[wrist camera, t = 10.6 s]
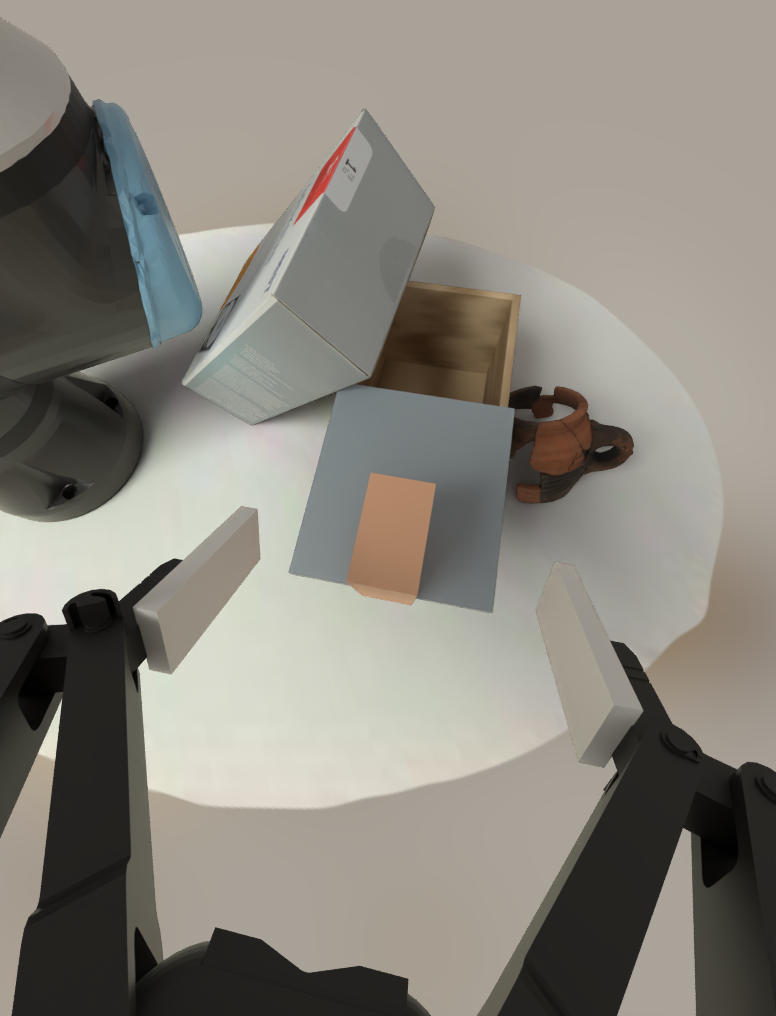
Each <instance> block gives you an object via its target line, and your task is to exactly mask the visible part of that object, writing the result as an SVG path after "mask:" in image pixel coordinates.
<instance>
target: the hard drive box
mask: <svg viewBox="0 0 776 1016" xmlns="http://www.w3.org/2000/svg"><path fill="white" fill-rule="evenodd" d="M434 208H435V207H434V205H433V204H432V202H431V201H430V199H429V198H428V196H427V195H426V193H425V192H424V191H423V189H422V188H421V186H420V185H419V183H418V182H417V180H416V179H415V177H414V176H413V175H412V173H411V172H410V170H409V169H408V168H407V166H406V165H405V163H404V162H403V160H402V159H401V157H400V156H399V155H398V153H397V152H396V150H395V149H394V147H393V146H392V144H391V143H390V142H389V140H388V139H387V137H386V136H385V135H384V133H383V132H382V131H381V129H380V127H379V126H378V124H377V123H376V122H375V120H374V119H373V117H372V116H371V115H370V113H369V112H368V111H367V110H366V109H365V108H364V109H363V110H362V112H361V113H360V115H359V116H358V117H357V119H356V120H355V121H354V123H353V124H352V125H351V127H350V128H349V129H348V131H347V132H346V133H345V134H344V136H343V137H342V138H341V140H340V141H339V142H338V144H337V145H336V147H335V148H334V149H333V150H332V151H331V153H330V154H329V155H328V157H327V158H326V159H325V161H324V162H323V163H322V165H321V166H320V167H319V169H318V170H317V171H316V172H315V174H314V175H313V176H312V177H311V179H310V180H309V181H308V183H307V184H306V185H305V186H304V188H303V189H302V190H301V192H300V193H299V194H298V196H297V197H296V198H295V199H294V200H293V202H292V203H291V204H290V206H289V207H288V208H287V209H286V211H285V212H284V213H283V214H282V216H281V217H280V218H279V220H278V221H277V222H276V223H275V224H274V226H273V227H272V228H271V229H270V231H269V232H268V233H267V235H266V236H265V237H264V239H263V240H262V241H261V242H260V244H259V245H258V246H257V248H256V249H255V250H254V252H253V253H252V254H251V256H250V257H249V258H248V260H247V261H246V263H245V265H244V266H243V268H242V270H241V272H240V274H239V276H238V278H237V280H236V281H235V283H234V285H233V287H232V289H231V291H230V293H229V294H228V296H227V298H226V300H225V302H224V304H223V305H222V307H221V309H220V311H219V313H218V315H217V317H216V319H215V320H214V322H213V324H212V326H211V328H210V330H209V332H208V333H207V335H206V337H205V339H204V341H203V343H202V344H201V346H200V348H199V350H198V352H197V354H196V356H195V358H194V359H193V361H192V363H191V365H190V367H189V369H188V371H187V373H186V375H185V377H184V378H183V380H182V384H183V385H184V386H186V387H187V388H189V389H190V390H192V391H194V392H195V393H197V394H199V395H200V396H202V397H204V398H206V399H207V400H209V401H211V402H212V403H214V404H216V405H217V406H219V407H221V408H222V409H224V410H226V411H227V412H229V413H231V414H232V415H234V416H236V417H237V418H239V419H241V420H243V421H244V422H246V423H248V424H250V425H254V424H257V423H259V422H262V421H264V420H267V419H269V418H272V417H274V416H277V415H279V414H282V413H284V412H287V411H289V410H291V409H294V408H297V407H299V406H302V405H304V404H306V403H309V402H311V401H314V400H316V399H319V398H321V397H324V396H326V395H329V394H331V393H334V392H336V391H339V390H341V389H343V388H346V387H348V386H351V385H353V384H356V383H358V382H361V381H363V380H366V379H368V378H370V377H372V374H373V372H374V370H375V367H376V365H377V362H378V360H379V357H380V354H381V352H382V349H383V347H384V344H385V341H386V338H387V336H388V333H389V331H390V328H391V325H392V323H393V320H394V317H395V314H396V312H397V309H398V306H399V304H400V301H401V299H402V296H403V294H404V291H405V288H406V286H407V283H408V280H409V278H410V275H411V273H412V270H413V267H414V265H415V262H416V260H417V257H418V254H419V252H420V249H421V247H422V244H423V241H424V239H425V236H426V233H427V230H428V228H429V225H430V222H431V219H432V216H433V213H434Z"/></svg>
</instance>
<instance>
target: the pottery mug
mask: <svg viewBox="0 0 776 1016" xmlns="http://www.w3.org/2000/svg"><path fill="white" fill-rule="evenodd" d="M541 390H542V387H539V386H531V387H525V388H522V389H518V390H516V391H513V392H511V393H510V394H509V402H508V408H514V409H532V412H533V414H534V416H535V418H545V417H549V416H551V415H552V414H553V408H552V405H553V403H558V404H563V405H567V406H569V407H572V408H573V409H575V410H576V411H575V412H574V413H572V414H571V415H569V416H567V417H565V418H562V419H560V420H555V421H549V422H539V423H535V422H529V421H523V420H520V419H517V418H515V417H514V421H513V430H512V439H511V449H510V459H513V458H514V456H515V454H516V451H517V450H519V449H520V448H521V447H523V446H524V445H525V444H527V443H530V442H531V441H533V440H534V445H533V450H532V454H531V457H530V460H529V462H530V465H531V467H532V468H533V469H534V470H536V471H539V472H540V478H541V484H540V485H527V484H521V483H519V484H518V485H517V489H516V490H517V499H518V500H519V501H523V502H528V503H546V502H552V501H555V500H557V499H560V498H562V497H564V496H565V495H566V494H567V493H568V492H569V491H570V490H571V488H572V487H573V486H574V484H575V483H576V482H577V481H578V480H579V479H580V478H581V477H582V476H583V474H584V475H585V474H587V473H590V472H594V471H603V470H608V469H612V468H615V467H617V466H619V465H621V464H623V463H624V462H625V461H626V460H627V459H628V458H629V456H631V455H632V454H633V451H632V449H633V447H634V443H633V439H632V437H631V435H630V434H629V433H628V432H627V431H625V430H624V429H621V428H618V427H615V426H608V425H603V424H600V423H598V422H596V421H595V420H590V419H589V415H588V413H587V412H586V411H587V409H588V403H587V401H586V399H585V398H584V397H583V396H582V395H581V394H579V393H578V392H575V391H574V390H571V389H568V388H564V387H556V388H555V389H554V395H542V396H540V393H541ZM603 446H614V447H613V448H611V449H610V450H608V451H605V452H601V453H599V452H596V451H595V450H596V449H598V448H600V447H603Z"/></svg>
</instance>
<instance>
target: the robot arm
mask: <svg viewBox="0 0 776 1016" xmlns="http://www.w3.org/2000/svg"><path fill="white" fill-rule="evenodd" d="M201 317H202V303H201V299H200V296H199V292H198V289H197V286H196V283H195V280H194V277H193V274H192V272H191V269H190V266H189V263H188V261H187V258H186V255H185V252H184V250H183V247H182V245H181V242H180V239H179V237H178V234H177V231H176V229H175V226H174V224H173V221H172V219H171V216H170V214H169V211H168V209H167V206H166V204H165V201H164V199H163V196H162V194H161V191H160V189H159V186H158V184H157V181H156V179H155V177H154V174H153V172H152V169H151V167H150V164H149V162H148V160H147V157H146V155H145V153H144V150H143V148H142V146H141V144H140V141H139V139H138V137H137V135H136V133H135V131H134V129H133V127H132V125H131V123H130V121H129V118H128V116H127V114H126V113H125V111H124V110H123V109H122V108H121V107H120V106H118V105H117V104H115V103H104V102H103V101H102V100H100V99H98V100H95V101H93V105H92V107H90V106H89V105H88V104H87V103H86V102H85V101H84V99H83V98H82V96H81V94H80V93H79V91H78V89H77V88H76V86H75V84H74V82H73V81H72V79H71V77H70V76H69V74H68V73H67V71H66V69H65V67H64V66H63V64H62V63H61V61H60V60H59V59H58V57H57V56H56V54H55V53H54V52H53V51H52V49H50V47H48V46H47V45H45V44H44V43H42V42H41V41H39V40H38V39H36V38H34V37H32V36H31V35H29V34H27V33H26V32H24V31H22V30H21V29H19V28H17V27H16V26H14V25H12V24H11V23H9V22H7V21H6V20H4V19H2V18H1V17H0V510H1V511H3V512H6V513H9V514H12V515H15V516H19V517H22V518H26V519H29V520H33V521H39V522H56V521H63V520H68V519H72V518H75V517H78V516H81V515H83V514H85V513H87V512H89V511H91V510H93V509H95V508H97V507H98V506H100V505H101V504H103V503H104V502H106V501H107V500H108V499H109V498H111V497H112V496H113V495H114V494H115V493H116V492H117V491H118V490H119V489H120V488H121V487H122V486H123V485H124V483H125V482H126V481H127V479H128V478H129V476H130V475H131V473H132V472H133V470H134V468H135V466H136V464H137V461H138V459H139V456H140V452H141V448H142V440H143V432H142V425H141V421H140V418H139V416H138V414H137V412H136V410H135V409H134V407H133V406H132V405H131V403H130V402H129V401H128V400H126V399H125V398H124V397H123V396H122V395H120V394H119V393H118V392H117V391H116V390H114V389H113V388H112V387H111V386H109V385H108V384H106V383H104V382H103V381H101V380H99V379H96V378H94V377H91V376H89V375H86V374H84V373H81V372H79V371H81V370H84V369H87V368H90V367H93V366H96V365H99V364H102V363H105V362H108V361H111V360H114V359H117V358H120V357H123V356H126V355H129V354H132V353H135V352H138V351H141V350H144V349H147V348H150V347H153V348H157V347H158V346H160V344H161V342H163V341H166V340H168V339H171V338H173V337H176V336H178V335H181V334H183V333H186V332H188V331H191V330H192V329H193V328H195V327H196V326H197V325H198V323H199V321H200V319H201ZM259 560H260V544H259V526H258V509H254V508H248V507H243V506H241V507H240V508H239V509H238V510H237V511H236V512H235V513H233V514H232V515H231V516H230V517H229V518H228V519H227V520H226V521H225V522H224V523H223V524H222V525H221V526H219V527H218V528H217V529H216V530H215V531H214V532H213V533H212V534H211V535H210V536H209V537H208V538H207V539H206V540H204V541H203V542H202V543H201V544H200V545H199V546H198V547H197V548H196V549H195V550H194V551H193V552H192V553H190V554H189V555H188V556H187V557H186V558H185V559H184V560H179V559H172V560H170V561H168V562H166V563H164V564H162V565H160V566H159V567H158V568H157V569H155V570H154V571H153V572H152V573H151V574H150V576H147V577H146V578H145V579H144V580H143V581H142V583H141V584H138V585H137V586H136V587H135V588H134V589H133V590H131V591H130V592H129V593H128V594H127V595H126V596H125V597H123V598H122V599H121V600H120V601H118V598H117V596H116V593H115V592H113V591H111V590H106V589H97V590H90V591H87V592H84V593H81V594H79V595H77V596H75V597H74V598H72V599H71V600H69V601H68V602H67V603H66V604H65V605H64V607H63V609H62V612H63V615H64V617H65V620H66V622H67V624H64V625H47V624H46V621H45V619H44V618H43V616H41V615H39V614H36V613H26V614H21V615H17V616H13V617H11V618H8V619H6V620H3V621H2V622H0V837H1V835H2V833H3V831H4V828H5V826H6V824H7V822H8V819H9V817H10V815H11V813H12V810H13V808H14V806H15V804H16V801H17V799H18V797H19V795H20V792H21V790H22V788H23V785H24V783H25V781H26V779H27V776H28V774H29V772H30V770H31V767H32V765H33V763H34V761H35V758H36V756H37V754H38V752H39V749H40V747H41V745H42V743H43V740H44V738H45V736H46V733H47V731H48V729H49V727H50V724H51V722H52V720H53V718H54V715H55V713H56V711H57V709H58V706H59V704H60V702H61V700H62V706H61V715H60V724H59V733H58V741H57V750H56V759H55V769H54V777H53V785H52V795H51V804H50V812H49V821H48V830H47V838H46V847H45V856H44V865H43V874H42V882H41V892H40V898H39V903H38V906H37V909H36V910H35V911H34V912H33V914H31V915H30V917H29V918H28V920H27V923H26V926H25V928H24V933H23V938H22V943H21V949H20V957H19V965H18V972H17V980H16V987H15V995H14V1002H13V1010H12V1016H431V1015H430V1014H429V1012H428V1011H427V1010H426V1009H425V1008H424V1007H423V1006H422V1005H421V1004H420V1003H419V1002H418V1001H417V1000H416V999H414V998H413V997H412V996H410V995H409V994H408V979H407V978H403V977H400V976H395V975H392V974H388V973H385V972H381V971H377V970H373V969H370V968H366V967H362V966H356V967H348V968H341V969H334V970H326V971H319V972H312V973H307V972H304V971H302V970H300V969H299V968H298V967H296V966H295V965H294V964H292V963H291V962H290V961H288V960H287V959H286V958H285V957H283V956H282V955H281V954H279V953H278V952H277V951H276V950H274V949H273V948H272V947H270V946H269V945H268V944H266V943H265V942H264V941H263V940H261V939H258V938H254V937H250V936H246V935H242V934H238V933H235V932H231V931H228V930H224V929H220V928H215V930H214V932H213V935H212V938H211V940H210V941H207V942H201V943H198V944H195V945H192V946H189V947H187V948H185V949H183V950H181V951H178V952H177V953H175V954H173V955H172V956H170V957H169V958H167V959H165V960H164V961H163V951H162V941H161V935H160V928H159V923H158V918H157V912H156V903H155V888H154V874H153V860H152V845H151V831H150V817H149V802H148V787H147V773H146V759H145V744H144V730H143V715H142V701H141V686H140V673H139V670H138V667H139V666H140V664H141V663H142V662H143V661H144V660H145V659H146V658H147V662H148V665H149V669H150V670H153V671H158V672H162V673H167V674H172V673H173V672H174V670H175V669H176V668H177V667H178V665H179V664H180V663H181V661H182V660H183V659H184V657H185V656H186V655H187V654H188V652H189V651H190V650H191V648H192V647H193V646H194V644H195V643H196V642H197V641H198V639H199V638H200V637H201V635H202V634H203V633H204V632H205V630H206V629H207V628H208V626H209V625H210V624H211V622H212V621H213V620H214V619H215V617H216V616H217V615H218V613H219V612H220V611H221V609H222V608H223V607H224V606H225V604H226V603H227V602H228V600H229V599H230V598H231V596H232V595H233V594H234V593H235V591H236V590H237V589H238V587H239V586H240V585H241V583H242V582H243V581H244V580H245V578H246V577H247V576H248V574H249V573H250V572H251V570H252V569H253V568H254V567H255V565H256V564H257V563H258V561H259ZM536 613H537V617H538V620H539V624H540V627H541V631H542V635H543V638H544V642H545V645H546V649H547V652H548V656H549V660H550V663H551V667H552V670H553V674H554V677H555V681H556V685H557V688H558V692H559V695H560V699H561V703H562V706H563V710H564V713H565V717H566V720H567V724H568V728H569V731H570V735H571V738H572V742H573V745H574V749H575V753H576V756H577V759H578V762H580V763H585V764H589V765H594V766H599V767H603V768H604V767H605V766H606V764H607V763H608V761H609V760H610V758H611V757H613V760H614V763H615V765H616V768H617V772H616V773H615V774H614V776H613V777H612V779H611V780H610V781H609V783H608V784H607V785H606V787H605V788H604V791H605V792H604V793H603V795H602V797H601V799H600V801H599V802H598V804H597V806H596V808H595V810H594V811H593V813H592V815H591V817H590V818H589V820H588V822H587V824H586V825H585V827H584V829H583V831H582V833H581V834H580V836H579V838H578V840H577V841H576V843H575V845H574V847H573V848H572V850H571V852H570V854H569V856H568V857H567V859H566V861H565V863H564V865H563V866H562V868H561V870H560V872H559V874H558V875H557V877H556V879H555V881H554V882H553V884H552V886H551V888H550V889H549V891H548V893H547V895H546V896H545V898H544V900H543V902H542V904H541V905H540V907H539V909H538V911H537V912H536V914H535V916H534V918H533V920H532V921H531V923H530V925H529V927H528V928H527V930H526V932H525V934H524V936H523V937H522V939H521V941H520V943H519V944H518V946H517V948H516V950H515V951H514V953H513V955H512V957H511V959H510V961H509V962H508V964H507V966H506V967H505V969H504V971H503V973H502V975H501V976H500V978H499V980H498V982H497V983H496V985H495V987H494V989H493V991H492V992H491V994H490V996H489V998H488V999H487V1001H486V1002H485V1004H484V1006H483V1007H482V1009H481V1010H480V1012H479V1013H478V1015H477V1016H617V1014H618V1011H619V1008H620V1005H621V1003H622V1000H623V997H624V994H625V991H626V989H627V986H628V983H629V980H630V977H631V974H632V971H633V969H634V966H635V963H636V960H637V957H638V954H639V952H640V949H641V946H642V943H643V940H644V937H645V934H646V932H647V929H648V926H649V923H650V920H651V917H652V915H653V912H654V909H655V906H656V903H657V900H658V897H659V894H660V892H661V889H662V886H663V883H664V880H665V877H666V875H667V872H668V869H669V866H670V863H671V860H672V858H673V855H674V852H675V849H676V846H677V843H678V841H679V837H680V835H681V832H682V829H683V828H685V829H686V830H688V831H690V832H691V844H692V845H691V848H692V884H693V919H694V950H695V951H694V954H695V985H696V986H695V990H696V1016H776V772H775V771H773V770H772V769H770V768H768V767H766V766H763V765H761V764H759V763H754V762H747V763H745V764H743V765H741V766H740V768H738V769H735V768H733V767H731V766H729V765H727V764H724V763H722V762H720V761H718V760H715V759H714V758H712V757H710V756H708V755H706V754H704V753H703V752H702V750H701V748H700V747H699V745H698V744H697V743H696V741H695V740H694V739H693V738H692V737H691V736H690V735H688V734H687V733H686V732H685V731H684V730H682V729H680V728H678V727H677V726H675V725H673V724H672V722H671V721H670V718H669V717H668V715H667V713H666V711H665V709H664V707H663V705H662V704H661V702H660V700H659V698H658V696H657V694H656V692H655V690H654V688H653V687H652V685H651V683H649V679H648V677H647V675H646V674H645V672H643V668H642V666H641V664H640V662H639V660H638V658H637V657H636V655H635V654H634V653H633V652H632V651H631V650H630V649H629V648H628V647H627V646H626V645H625V644H624V643H620V642H614V641H610V640H609V638H608V636H607V634H606V631H605V629H604V627H603V625H602V623H601V621H600V619H599V617H598V615H597V613H596V611H595V608H594V606H593V604H592V602H591V600H590V598H589V596H588V594H587V592H586V590H585V588H584V586H583V583H582V581H581V579H580V577H579V575H578V573H577V571H576V569H575V567H574V565H571V564H565V563H560V562H555V563H554V566H553V568H552V571H551V573H550V576H549V578H548V581H547V583H546V586H545V589H544V591H543V594H542V596H541V599H540V601H539V604H538V606H537V609H536Z"/></svg>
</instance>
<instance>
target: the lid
mask: <svg viewBox="0 0 776 1016" xmlns="http://www.w3.org/2000/svg"><path fill="white" fill-rule="evenodd" d="M514 412H515V409H514V408H508V407H501V406H495V405H488V404H481V403H475V402H468V401H462V400H455V399H448V398H442V397H435V396H429V395H422V394H416V393H409V392H402V391H396V390H389V389H383V388H376V387H370V386H363V385H356V384H353V385H351V386H348V387H346V388H343V389H341V390H339V391H337V394H336V398H335V401H334V405H333V409H332V413H331V416H330V420H329V424H328V427H327V431H326V435H325V439H324V442H323V446H322V450H321V454H320V457H319V461H318V465H317V468H316V472H315V476H314V480H313V483H312V487H311V491H310V495H309V498H308V502H307V506H306V509H305V513H304V517H303V521H302V524H301V528H300V532H299V536H298V539H297V543H296V547H295V550H294V554H293V558H292V562H291V565H290V569H289V573H290V574H293V575H298V576H303V577H308V578H313V579H319V580H324V581H329V582H334V583H339V584H344V585H349V586H352V587H353V588H354V589H355V590H356V591H358V592H359V593H360V594H361V595H362V596H367V597H372V598H377V599H382V600H387V601H392V602H397V603H402V604H407V605H412V603H413V602H414V600H415V599H421V600H426V601H431V602H436V603H441V604H446V605H451V606H456V607H461V608H467V609H472V610H477V611H482V612H487V613H493V604H494V595H495V586H496V577H497V567H498V558H499V549H500V540H501V531H502V522H503V513H504V503H505V494H506V485H507V476H508V467H509V458H510V449H511V439H512V430H513V421H514Z"/></svg>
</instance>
